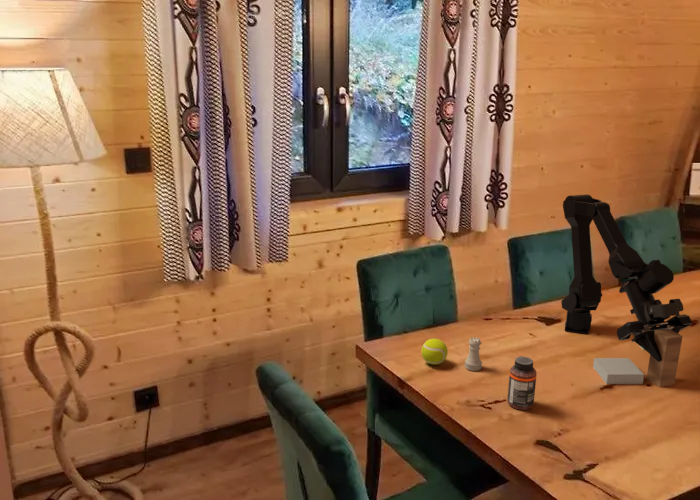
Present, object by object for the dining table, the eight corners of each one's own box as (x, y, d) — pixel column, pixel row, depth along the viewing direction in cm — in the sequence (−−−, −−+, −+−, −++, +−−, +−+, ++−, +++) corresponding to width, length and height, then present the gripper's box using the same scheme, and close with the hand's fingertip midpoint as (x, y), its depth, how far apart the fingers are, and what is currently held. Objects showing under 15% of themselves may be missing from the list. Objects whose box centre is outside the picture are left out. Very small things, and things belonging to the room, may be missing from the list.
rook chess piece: (481, 372, 172) (484, 343, 170) (463, 370, 173) (465, 341, 171) (482, 364, 176) (484, 336, 174) (464, 362, 177) (466, 334, 175)
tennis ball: (424, 369, 173) (425, 345, 171) (418, 358, 179) (419, 334, 177) (450, 368, 174) (451, 344, 172) (442, 357, 180) (444, 333, 178)
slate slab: (592, 368, 176) (594, 358, 175) (627, 368, 176) (628, 358, 175) (606, 385, 167) (607, 374, 166) (642, 385, 168) (644, 374, 167)
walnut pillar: (646, 378, 170) (653, 330, 166) (660, 376, 171) (668, 328, 168) (659, 387, 166) (667, 338, 162) (674, 384, 167) (682, 335, 163)
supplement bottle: (512, 395, 161) (516, 351, 158) (537, 402, 158) (541, 358, 155) (502, 405, 156) (506, 361, 153) (527, 413, 153) (532, 368, 150)
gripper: (631, 291, 162) (657, 353, 156) (693, 284, 168) (721, 343, 161) (605, 310, 172) (629, 369, 165) (664, 302, 178) (690, 359, 171)
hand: (668, 359), depth 165 cm, fingers closed on walnut pillar, 4 cm apart
